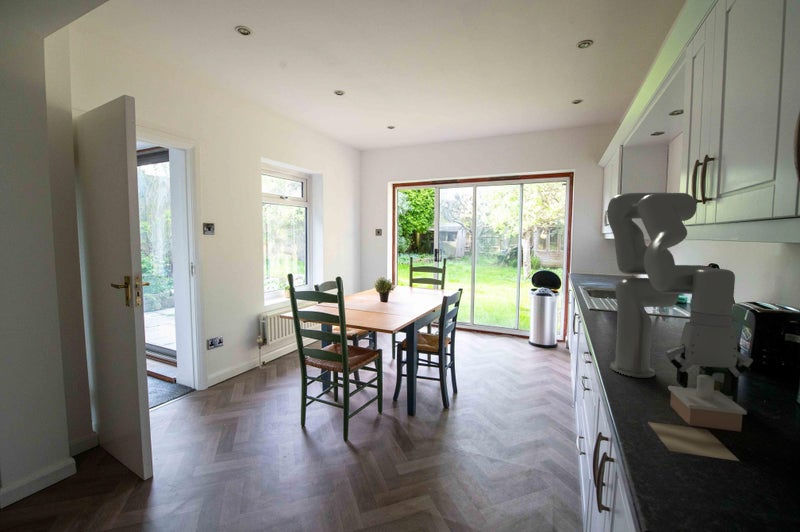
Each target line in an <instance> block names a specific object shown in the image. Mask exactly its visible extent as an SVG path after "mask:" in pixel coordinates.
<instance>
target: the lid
mask: <svg viewBox="0 0 800 532" xmlns="http://www.w3.org/2000/svg"><path fill="white" fill-rule="evenodd" d="M696 377H697V378H696V388H695V387H687V388H683V387H682V386H676V385H675V386H674V385H668V386H667V389H668V390H669V391H670V393H671V392H672V393H673V394H674V395H676V396H677V397H678V398H679V399H680V400H681V401H682V402H683V403H684V404H685V405H686V406H687V407H688V408H693V409H702V410H711V411H719V412H728V413H737V414H742V415H747V414H748V412H747V410H746V409H745V408H743V407H742V406H741V405H739V404H738V403H737V404H736V403H735V402H733V401H732V400H731V399H729V398H728V397H727V396H725V395H724V394H722V393H721V392H720V391H717V390H714V381H715V378H713V377H711V376H708V375H701V374H700V375H699V374H697V375H696Z"/></svg>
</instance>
